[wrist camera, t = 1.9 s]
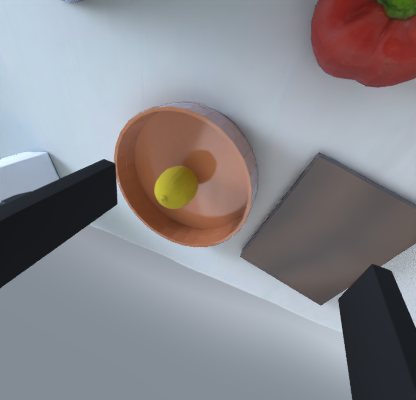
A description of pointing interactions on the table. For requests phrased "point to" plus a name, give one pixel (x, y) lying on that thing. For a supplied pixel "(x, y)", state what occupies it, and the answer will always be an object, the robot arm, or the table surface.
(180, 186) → the lemon
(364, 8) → the vegetable
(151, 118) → the basin
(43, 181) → the milk carton
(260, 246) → the board
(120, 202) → the table surface
